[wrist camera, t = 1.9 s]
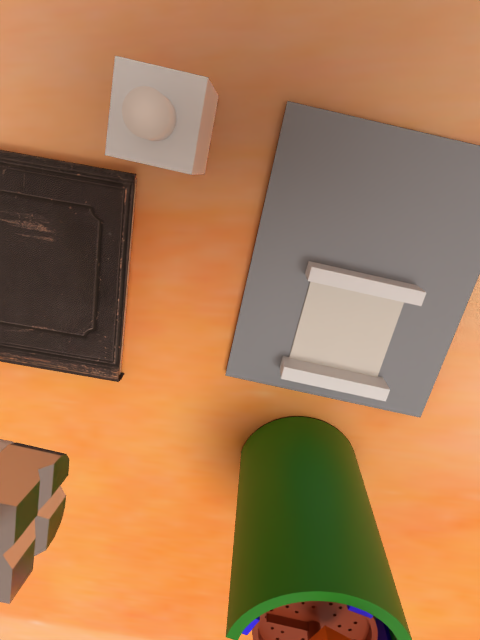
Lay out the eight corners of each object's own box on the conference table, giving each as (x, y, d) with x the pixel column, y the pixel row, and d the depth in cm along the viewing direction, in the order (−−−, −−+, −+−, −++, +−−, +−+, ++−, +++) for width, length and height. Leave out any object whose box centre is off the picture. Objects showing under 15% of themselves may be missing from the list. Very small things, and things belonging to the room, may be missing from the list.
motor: (226, 478, 38) (191, 775, 20) (268, 397, 36) (276, 654, 17) (328, 518, 39) (389, 839, 20) (377, 443, 36) (501, 735, 18)
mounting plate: (287, 102, 28) (289, 95, 26) (520, 157, 29) (546, 155, 26) (226, 370, 35) (223, 387, 32) (417, 412, 35) (429, 431, 33)
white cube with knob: (144, 78, 28) (101, 45, 21) (218, 95, 28) (203, 68, 21) (134, 158, 30) (91, 153, 22) (204, 174, 30) (185, 175, 23)
